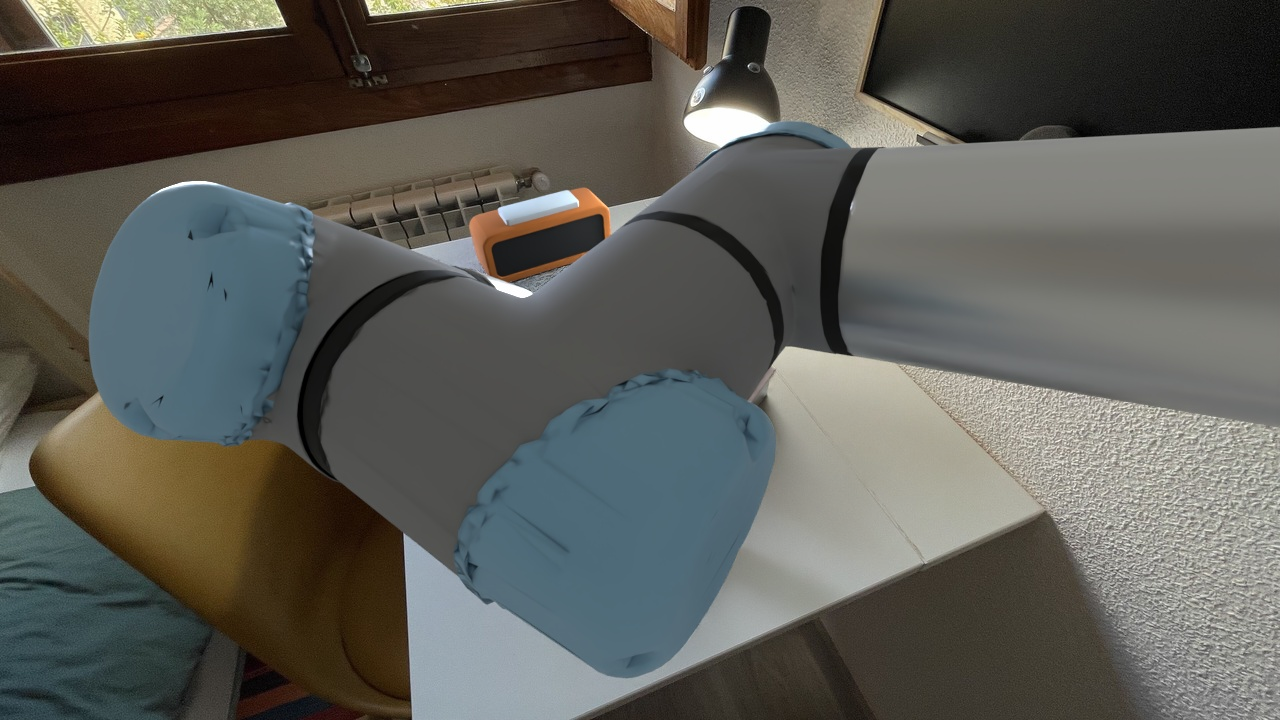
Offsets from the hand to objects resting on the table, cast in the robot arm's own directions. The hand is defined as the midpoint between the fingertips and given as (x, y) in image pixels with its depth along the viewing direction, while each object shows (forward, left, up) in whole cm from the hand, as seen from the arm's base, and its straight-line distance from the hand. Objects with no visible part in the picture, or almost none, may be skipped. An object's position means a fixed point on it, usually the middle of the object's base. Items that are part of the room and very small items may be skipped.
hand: (666, 384), depth 49 cm
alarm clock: (+48, -33, -23) cm, 62 cm away
